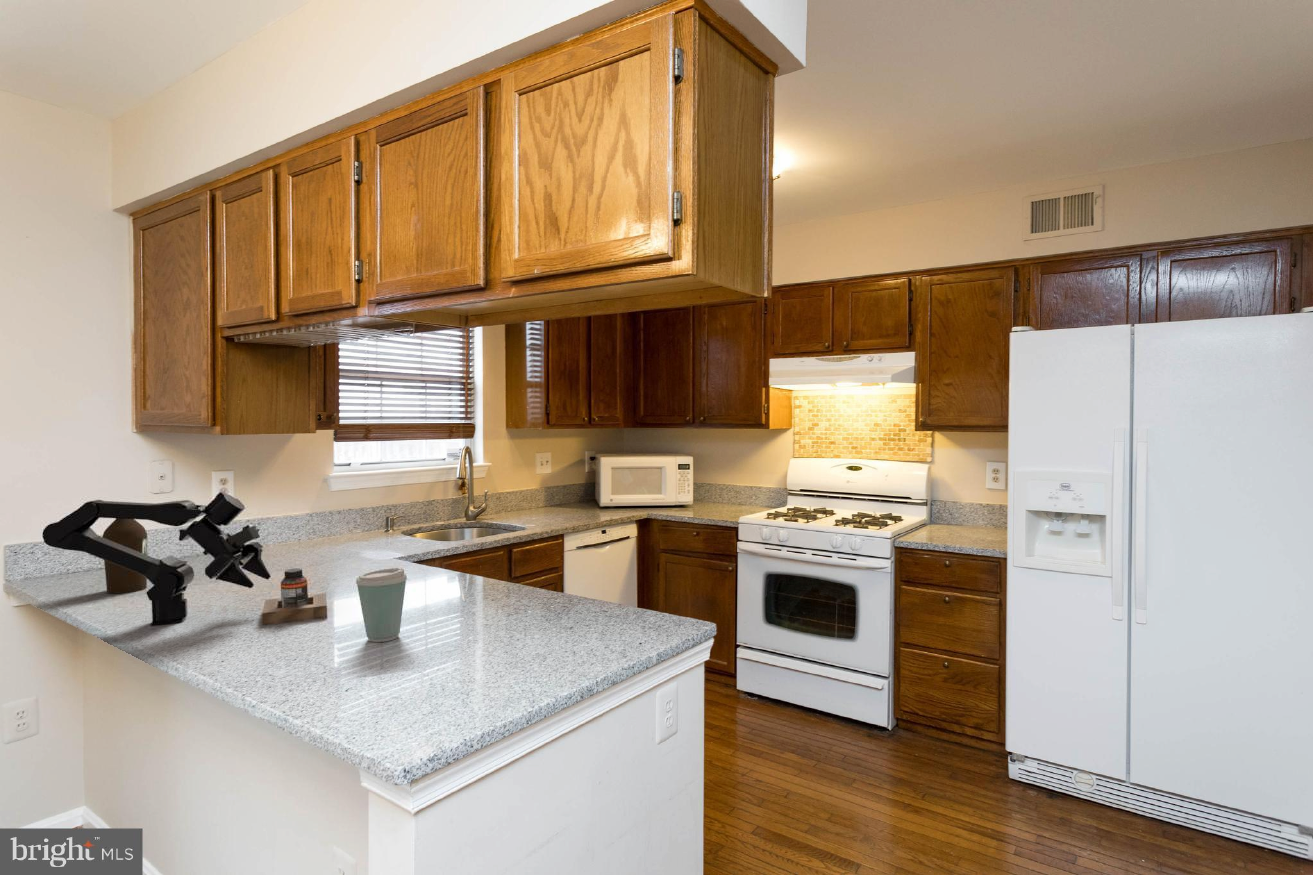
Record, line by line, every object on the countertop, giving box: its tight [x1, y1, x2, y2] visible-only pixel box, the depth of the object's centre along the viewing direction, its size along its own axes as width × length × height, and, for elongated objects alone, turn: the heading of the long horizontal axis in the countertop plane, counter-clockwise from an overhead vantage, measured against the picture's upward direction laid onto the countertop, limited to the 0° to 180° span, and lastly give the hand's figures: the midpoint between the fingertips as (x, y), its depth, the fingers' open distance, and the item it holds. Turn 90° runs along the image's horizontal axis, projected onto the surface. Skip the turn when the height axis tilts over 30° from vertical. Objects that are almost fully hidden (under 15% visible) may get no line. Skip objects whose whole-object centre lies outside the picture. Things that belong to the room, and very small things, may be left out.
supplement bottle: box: [280, 567, 309, 608], centre depth 180 cm, size 6×6×11 cm
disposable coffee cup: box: [355, 567, 408, 643], centre depth 160 cm, size 11×11×15 cm
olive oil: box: [101, 518, 148, 595], centre depth 210 cm, size 11×11×25 cm
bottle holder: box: [261, 592, 328, 626], centre depth 181 cm, size 14×14×3 cm
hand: (261, 582), depth 180 cm, fingers open, 9 cm apart
